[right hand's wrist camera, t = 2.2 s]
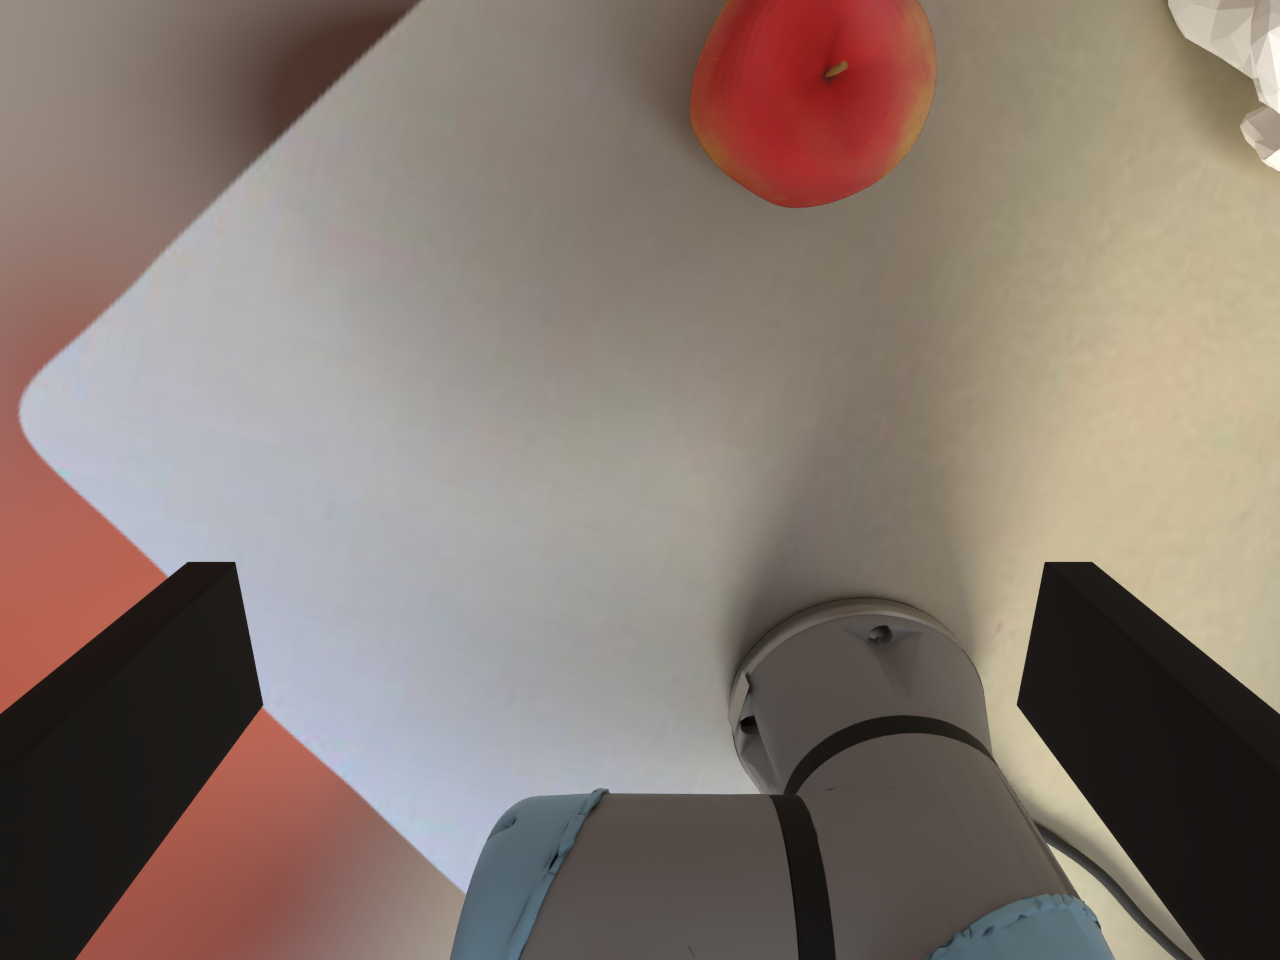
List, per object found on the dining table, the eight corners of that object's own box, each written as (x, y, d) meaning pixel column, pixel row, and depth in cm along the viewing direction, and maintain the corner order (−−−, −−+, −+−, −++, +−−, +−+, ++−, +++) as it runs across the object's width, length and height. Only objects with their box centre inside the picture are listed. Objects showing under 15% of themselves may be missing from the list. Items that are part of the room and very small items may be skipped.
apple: (747, 243, 39) (780, 264, 30) (644, 63, 36) (646, 23, 27) (922, 129, 37) (1017, 114, 28) (829, -70, 34) (899, -163, 25)
